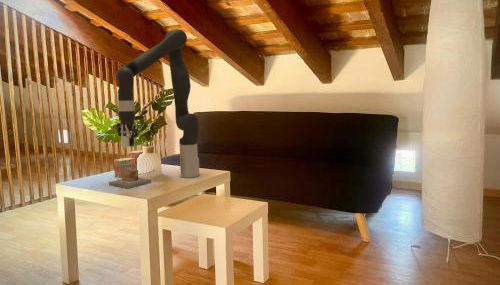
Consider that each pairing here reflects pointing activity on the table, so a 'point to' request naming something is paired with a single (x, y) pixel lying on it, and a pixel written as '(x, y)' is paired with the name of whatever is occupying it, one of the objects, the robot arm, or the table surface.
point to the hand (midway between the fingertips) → (128, 145)
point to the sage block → (126, 141)
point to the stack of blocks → (126, 163)
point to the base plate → (129, 185)
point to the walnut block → (129, 175)
